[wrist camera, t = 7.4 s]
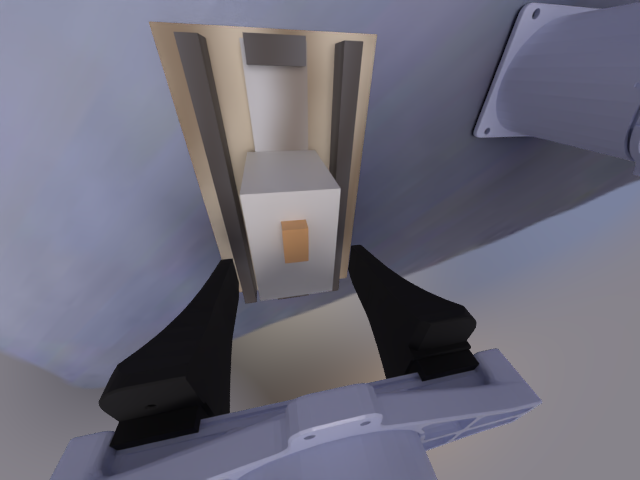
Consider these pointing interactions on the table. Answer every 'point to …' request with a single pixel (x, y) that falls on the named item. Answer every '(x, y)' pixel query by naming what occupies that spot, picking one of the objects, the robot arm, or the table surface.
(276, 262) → the block
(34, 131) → the table surface
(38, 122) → the table surface
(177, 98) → the mounting board
